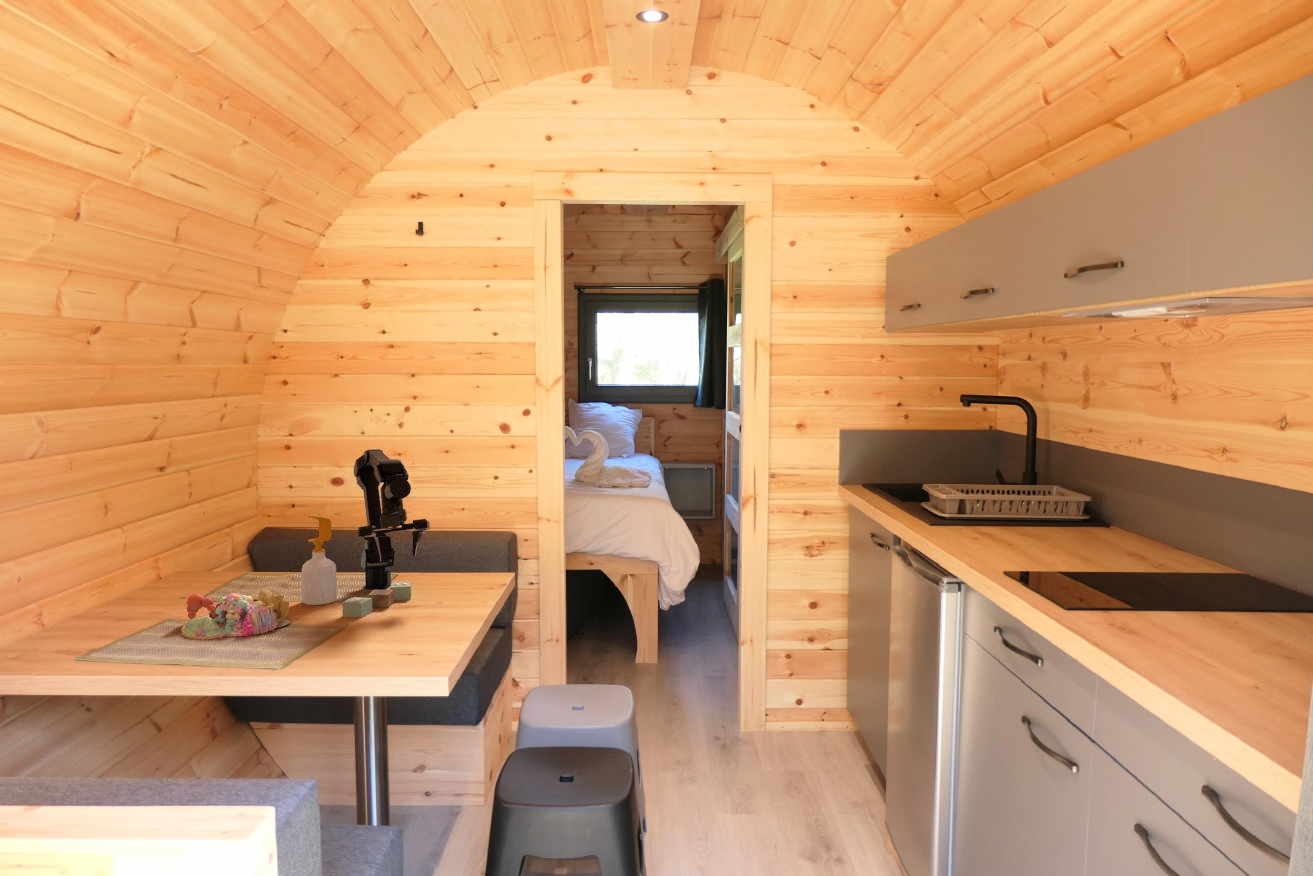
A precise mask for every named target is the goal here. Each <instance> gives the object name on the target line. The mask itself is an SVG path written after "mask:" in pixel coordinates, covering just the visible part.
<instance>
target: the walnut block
mask: <svg viewBox="0 0 1313 876" xmlns="http://www.w3.org/2000/svg"><path fill="white" fill-rule="evenodd" d="M367 598H372V610H374V609H390V607H392V605H394V604H395V603H394V601H395V600H394V590H390V589H373V590H371V592H370V593H368V595H367Z"/></svg>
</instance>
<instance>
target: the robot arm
mask: <svg viewBox="0 0 1313 876" xmlns="http://www.w3.org/2000/svg"><path fill="white" fill-rule="evenodd" d="M353 475H354V478H355V479H356V484H357V486H359V488H360V489H361V490H362V491H363V498H364V506H365V507H364V509H365V515H366V524H367V525H364V526H359V528H358V529H357V534H358V535H357V536H358V538H362V539H363V540H365V543H364V549H362V550H363V551H362V554H361V558H360V566H361V568H362V569H364V570H365V572H364V574H365V575H364V577H365V582H364V583H365V585H364V586H362V588H363V589H365V590H366V589H367V590H368V589H373V590H385V589H386V588H388V587H390V586H391V583H392V571H391V570H390V567H394V565H395V564H394V563H395V555H396V551H395V550H394V549H395V548H394V547H393V546H392V541H391V540H392V539H391V537H390V536H389V535H387V534H386V533H395V532H401V531H402V532H403V531H410V530H413V531H412V558H415V557H416V554H417V550H418V546H419V542H420V540H421V538H422V535H424V534H426V531H430V530H431V525H430V521H429V520H427V519H426V518H422V519H413V520H412V523H406V522H407V520H408V517H407V509H406V508H404V502H403V499H405V498H407V497H408V496H409V495H410V494H411V492H412V487H411V483H410V482H409V475H410V474H409V473H408V471H407V468H406V467H405V465H404V463H402V460H400V459H396V458H394V459H392V458H389V456H387V455H386V454H385V453H384V452H383V449H380V448H379V449H378V448H377V449H367V450H364V452H363V454H362V455H360V457H358V458H357V459H356V460H355V463H354V465H353ZM381 483H383V484H382V485H381ZM380 485H381V487H379V486H380Z"/></svg>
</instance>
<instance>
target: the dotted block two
mask: <svg viewBox="0 0 1313 876" xmlns="http://www.w3.org/2000/svg"><path fill="white" fill-rule="evenodd" d="M389 590H394V601H406V600H407V601H408V600H411V599H412V582H411V581H403V582H402V581H401V582H399V581H398V582H391V585H390V586H389Z"/></svg>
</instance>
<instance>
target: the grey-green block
mask: <svg viewBox="0 0 1313 876" xmlns="http://www.w3.org/2000/svg"><path fill="white" fill-rule="evenodd" d="M341 610H342V617H346V618H361V619H362V618H365V616H367V615H369V614H372V613H373V609H372V598H368V597H360V596H359V597H358V596H353V597H351V598H348V599H346V600H344V601H342V609H341Z"/></svg>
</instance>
